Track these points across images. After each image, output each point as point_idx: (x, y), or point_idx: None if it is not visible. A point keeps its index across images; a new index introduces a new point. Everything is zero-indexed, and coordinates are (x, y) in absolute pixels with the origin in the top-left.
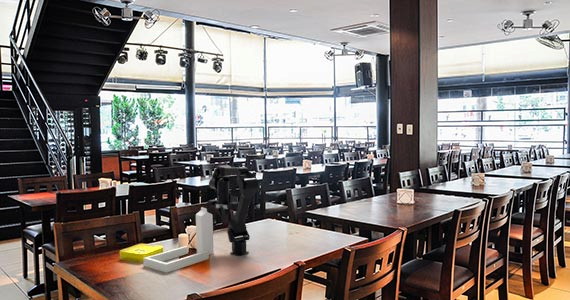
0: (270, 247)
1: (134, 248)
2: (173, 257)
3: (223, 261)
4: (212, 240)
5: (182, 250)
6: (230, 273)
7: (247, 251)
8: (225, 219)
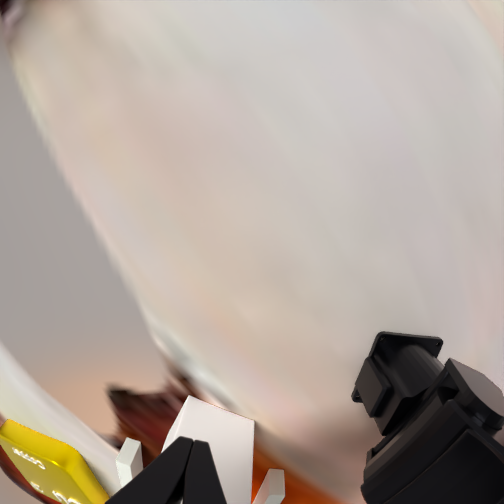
0: (499, 185)
1: (35, 478)
2: None
3: (363, 464)
4: (249, 480)
5: (136, 473)
6: None
7: (435, 339)
8: (214, 475)
